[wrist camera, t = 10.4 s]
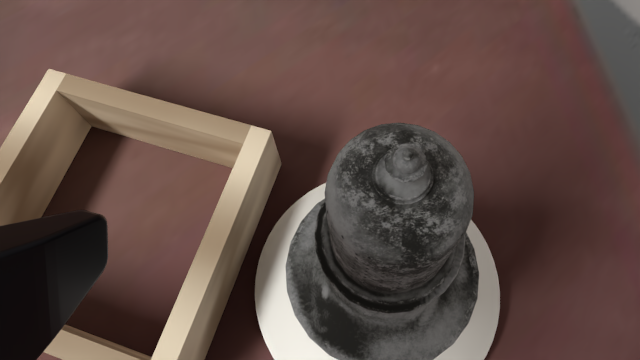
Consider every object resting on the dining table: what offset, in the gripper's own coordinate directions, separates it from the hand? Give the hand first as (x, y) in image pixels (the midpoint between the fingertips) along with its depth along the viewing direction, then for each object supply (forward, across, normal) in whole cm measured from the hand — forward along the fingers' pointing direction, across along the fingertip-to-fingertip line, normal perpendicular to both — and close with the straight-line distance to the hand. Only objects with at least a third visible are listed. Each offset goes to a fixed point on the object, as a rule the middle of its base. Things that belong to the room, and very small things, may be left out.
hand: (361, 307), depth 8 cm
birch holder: (+10, +10, +7) cm, 15 cm away
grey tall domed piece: (+10, 0, +6) cm, 11 cm away
